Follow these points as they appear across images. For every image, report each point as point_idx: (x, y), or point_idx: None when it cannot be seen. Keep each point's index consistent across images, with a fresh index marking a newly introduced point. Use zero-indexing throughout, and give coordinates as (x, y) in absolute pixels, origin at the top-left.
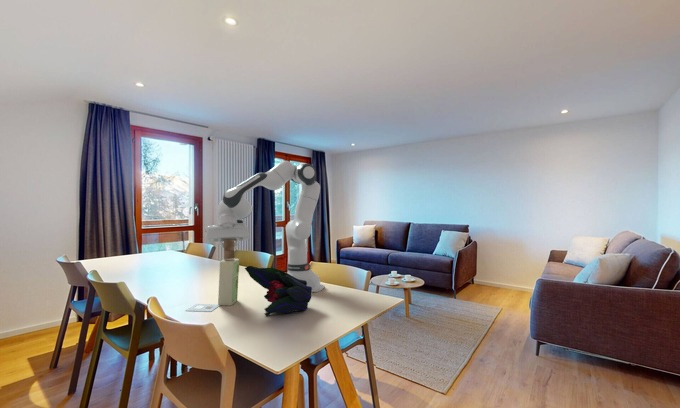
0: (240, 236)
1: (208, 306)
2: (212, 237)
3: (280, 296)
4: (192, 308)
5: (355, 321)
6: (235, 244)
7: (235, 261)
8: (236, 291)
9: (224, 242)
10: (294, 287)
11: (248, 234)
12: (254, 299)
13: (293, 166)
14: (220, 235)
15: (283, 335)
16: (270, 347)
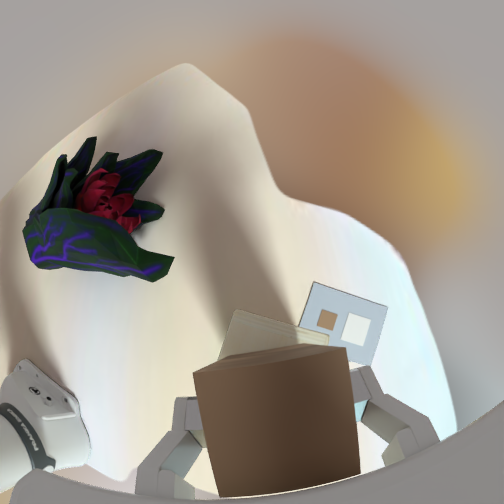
0: (107, 491)
1: (330, 329)
2: (501, 407)
3: (109, 172)
4: (373, 322)
5: (42, 162)
6: (197, 403)
7: (223, 344)
8: None
9: (337, 347)
10: (69, 162)
11: (20, 482)
12: (181, 371)
13: None
14: (431, 480)
15: (153, 120)
16: (182, 92)
